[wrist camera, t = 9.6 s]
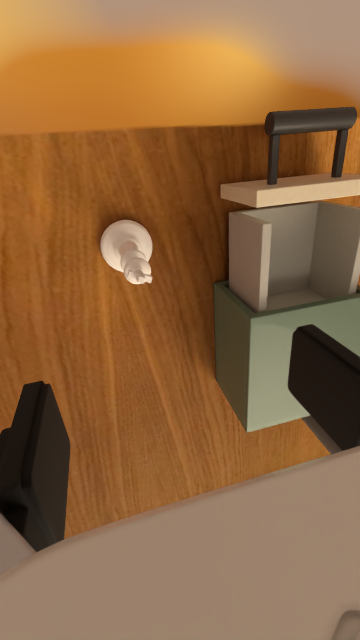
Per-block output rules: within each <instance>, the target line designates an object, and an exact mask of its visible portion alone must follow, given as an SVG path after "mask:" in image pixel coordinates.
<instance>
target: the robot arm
mask: <svg viewBox="0 0 360 640" xmlns="http://www.w3.org/2000/svg"><path fill="white" fill-rule="evenodd" d="M288 389H289V391H290V393H291V394H292V395H293V396H294V397H295V399H296V400H297V401H298V402H299V403H300V404H301V405H302V406H303V407H304V409H305V410H306V411H307V412H308V413H309V414H310V415H311V416H312V418H313V419H314V420H315V421H316V422H317V423H318V424H319V425H320V427H321V428H322V429H323V430H324V431H325V432H326V433H327V434H328V436H329V437H330V438H331V439H332V440H333V441H334V442H335V443H336V445H337V446H338V447H339V448H340V449H341V450H342V451H341V452H338V453H334V454H331V455H328V456H324V457H321V458H318V459H314V460H311V461H308V462H304V463H301V464H298V465H294V466H291V467H288V468H285V469H281V470H278V471H275V472H271V473H268V474H265V475H262V476H258V477H255V478H252V479H249V480H245V481H242V482H239V483H236V484H232V485H229V486H226V487H223V488H219V489H216V490H213V491H210V492H206V493H203V494H200V495H197V496H194V497H190V498H187V499H184V500H181V501H178V502H174V503H171V504H168V505H165V506H162V507H158V508H155V509H152V510H149V511H146V512H142V513H139V514H136V515H133V516H130V517H127V518H124V519H121V520H118V521H115V522H112V523H109V524H106V525H103V526H100V527H97V528H94V529H91V530H88V531H85V532H83V533H80V534H78V535H75V536H72V537H70V538H67V539H64V532H65V517H66V503H67V488H68V474H69V460H70V441H69V437H68V434H67V432H66V429H65V426H64V423H63V420H62V417H61V414H60V411H59V408H58V405H57V402H56V399H55V396H54V394H53V391H52V388H51V385H50V384H44V382H43V381H39V382H34V383H29V384H25V385H24V386H23V389H22V393H21V396H20V399H19V403H18V406H17V409H16V413H15V416H14V419H13V422H12V426H11V428H6V429H4V430H2V432H1V434H0V640H360V357H359V356H358V355H356V354H355V353H353V352H352V351H351V350H349V349H348V348H346V347H345V346H343V345H342V344H341V343H339V342H338V341H336V340H335V339H334V338H332V337H331V336H329V335H328V334H326V333H325V332H324V331H322V330H321V329H319V328H318V327H316V326H315V325H313V324H309V325H304V326H299V327H297V329H296V331H294V332H293V336H292V345H291V355H290V365H289V375H288Z"/></svg>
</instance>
